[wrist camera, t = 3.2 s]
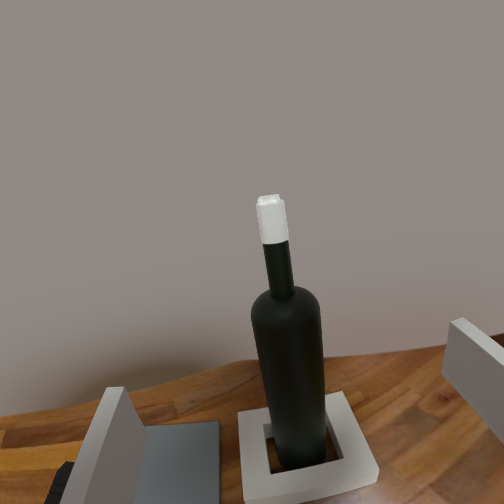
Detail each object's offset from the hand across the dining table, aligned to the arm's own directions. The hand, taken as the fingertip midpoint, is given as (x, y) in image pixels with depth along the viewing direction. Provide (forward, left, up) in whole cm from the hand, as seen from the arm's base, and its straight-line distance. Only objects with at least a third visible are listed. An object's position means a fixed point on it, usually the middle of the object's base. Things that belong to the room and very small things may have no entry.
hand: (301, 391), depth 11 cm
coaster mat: (+19, -14, -25) cm, 34 cm away
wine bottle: (-1, -14, -25) cm, 29 cm away
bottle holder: (-1, -14, -25) cm, 29 cm away
